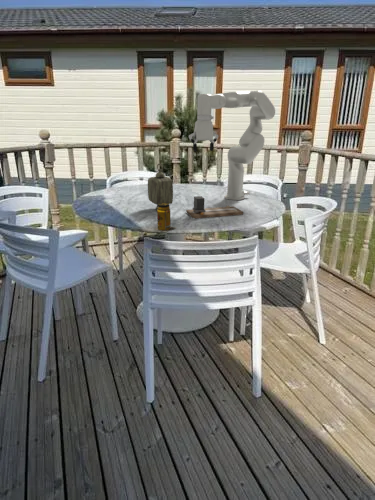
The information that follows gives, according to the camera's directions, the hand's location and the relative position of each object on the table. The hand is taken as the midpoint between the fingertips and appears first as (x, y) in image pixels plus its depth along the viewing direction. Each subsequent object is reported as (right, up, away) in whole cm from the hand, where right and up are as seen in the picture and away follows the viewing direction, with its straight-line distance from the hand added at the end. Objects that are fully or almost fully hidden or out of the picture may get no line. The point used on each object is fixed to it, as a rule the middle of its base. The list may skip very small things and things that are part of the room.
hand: (203, 151), depth 200 cm
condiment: (-19, -46, -34) cm, 60 cm away
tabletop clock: (-24, -33, -2) cm, 41 cm away
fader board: (+6, -36, -9) cm, 37 cm away
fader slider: (-3, -35, -12) cm, 37 cm away
